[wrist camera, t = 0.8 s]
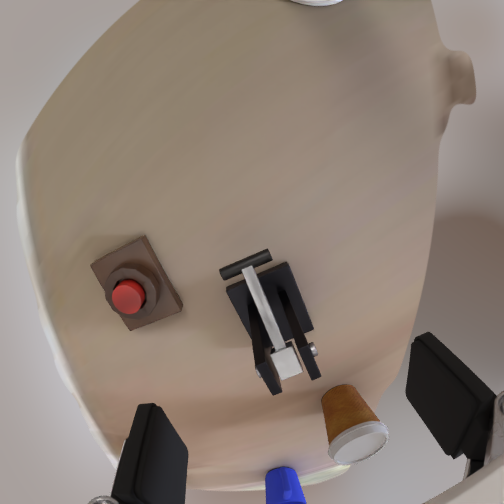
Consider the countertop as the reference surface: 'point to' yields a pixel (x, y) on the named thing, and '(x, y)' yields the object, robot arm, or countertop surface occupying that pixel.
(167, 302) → the button block
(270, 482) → the mug
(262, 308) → the lever
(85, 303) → the countertop surface
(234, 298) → the black lever base
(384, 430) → the disposable coffee cup
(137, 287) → the button
